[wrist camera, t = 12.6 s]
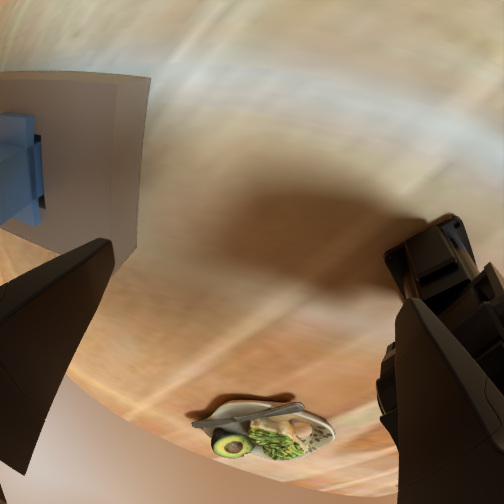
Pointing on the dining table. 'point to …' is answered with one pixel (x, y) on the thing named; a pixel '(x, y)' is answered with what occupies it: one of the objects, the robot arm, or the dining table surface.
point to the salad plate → (264, 430)
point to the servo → (20, 169)
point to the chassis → (83, 155)
